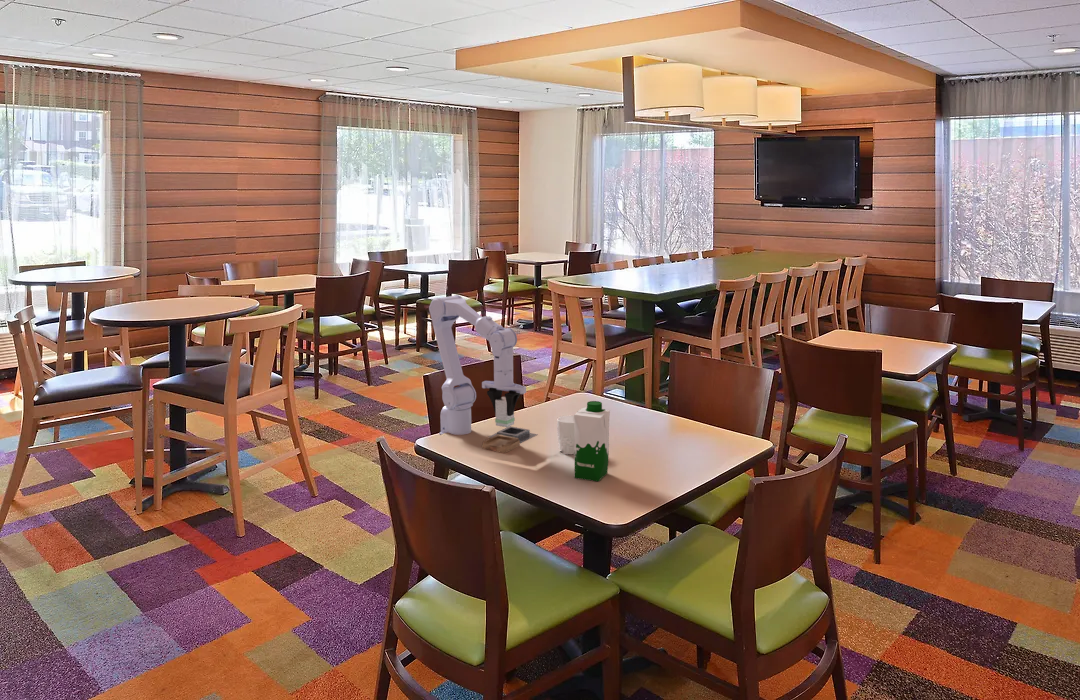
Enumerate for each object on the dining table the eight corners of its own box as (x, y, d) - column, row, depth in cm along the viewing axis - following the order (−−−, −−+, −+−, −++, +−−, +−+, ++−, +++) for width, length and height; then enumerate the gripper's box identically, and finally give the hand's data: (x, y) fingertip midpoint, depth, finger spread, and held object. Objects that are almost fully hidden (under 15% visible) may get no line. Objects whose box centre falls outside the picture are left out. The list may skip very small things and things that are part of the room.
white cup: (581, 456, 230) (581, 423, 228) (554, 454, 231) (554, 421, 229) (585, 447, 237) (585, 415, 235) (559, 446, 239) (559, 414, 237)
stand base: (488, 439, 245) (488, 432, 244) (506, 431, 253) (506, 424, 253) (520, 446, 239) (520, 438, 238) (537, 437, 247) (537, 429, 247)
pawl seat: (482, 451, 234) (482, 441, 233) (497, 444, 241) (497, 433, 240) (504, 456, 230) (504, 445, 229) (519, 448, 237) (519, 438, 236)
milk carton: (611, 472, 216) (612, 402, 212) (600, 483, 208) (601, 411, 204) (581, 468, 220) (582, 399, 216) (569, 478, 212) (570, 407, 208)
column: (495, 425, 236) (494, 399, 234) (503, 421, 240) (502, 396, 238) (507, 427, 234) (506, 401, 232) (514, 423, 237) (514, 398, 236)
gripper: (531, 369, 233) (531, 414, 235) (491, 364, 240) (491, 407, 243) (518, 374, 227) (519, 419, 229) (477, 369, 234) (478, 413, 237)
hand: (504, 414), depth 236 cm, fingers closed on column, 4 cm apart
